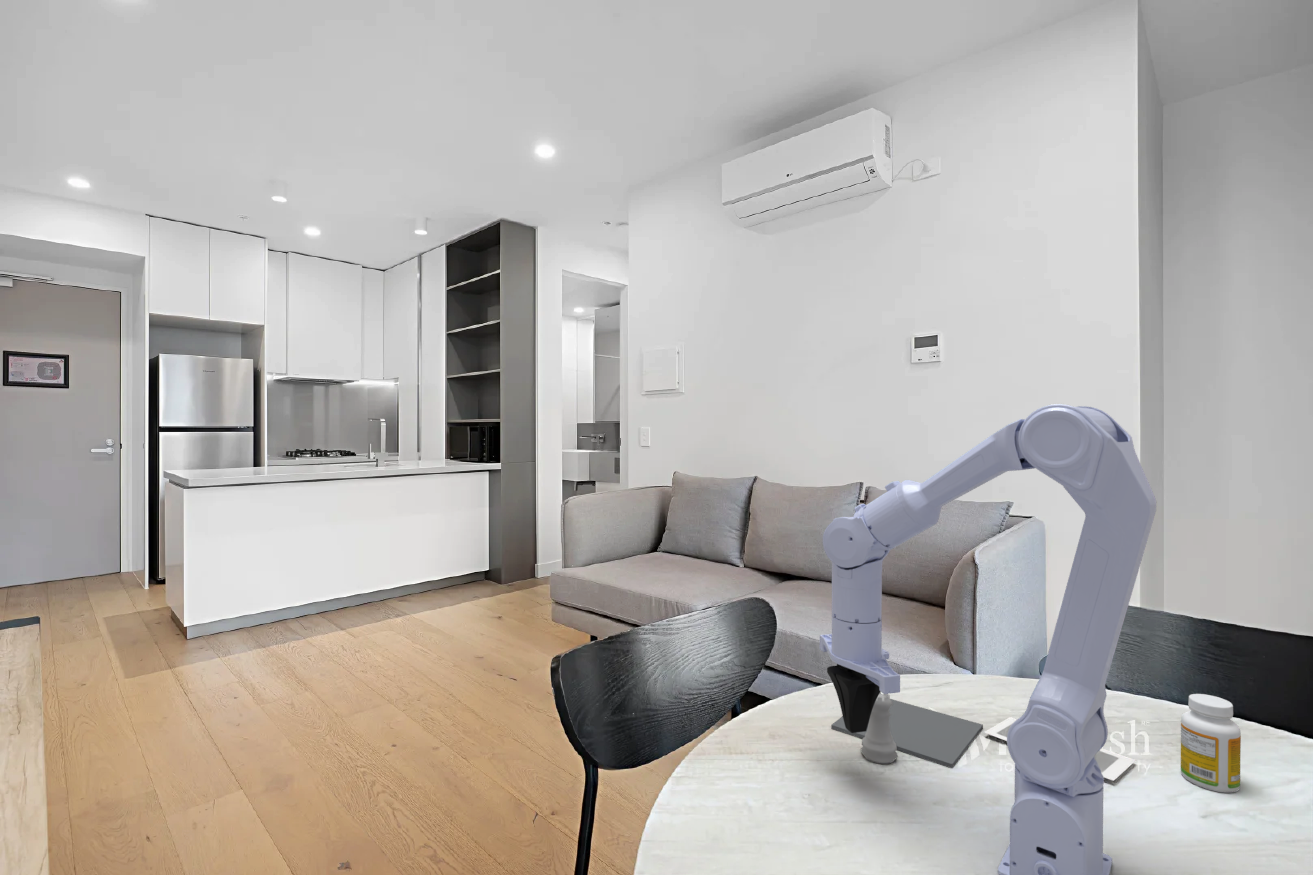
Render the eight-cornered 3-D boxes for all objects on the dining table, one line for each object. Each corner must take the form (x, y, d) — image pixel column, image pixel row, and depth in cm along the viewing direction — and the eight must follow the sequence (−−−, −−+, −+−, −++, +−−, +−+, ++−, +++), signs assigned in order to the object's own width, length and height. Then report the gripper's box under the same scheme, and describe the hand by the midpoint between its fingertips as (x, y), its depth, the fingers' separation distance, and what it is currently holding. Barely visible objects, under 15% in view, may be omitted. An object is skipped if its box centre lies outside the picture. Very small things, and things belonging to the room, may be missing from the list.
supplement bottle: (1223, 772, 78) (1224, 693, 78) (1251, 797, 73) (1252, 712, 73) (1171, 766, 79) (1172, 688, 79) (1194, 790, 74) (1195, 706, 74)
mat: (952, 768, 79) (952, 764, 79) (831, 728, 90) (831, 724, 90) (982, 728, 90) (983, 724, 90) (871, 696, 100) (871, 693, 100)
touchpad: (1113, 789, 75) (1113, 771, 75) (983, 740, 87) (984, 724, 87) (1135, 768, 80) (1136, 751, 80) (1010, 724, 92) (1010, 709, 92)
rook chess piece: (857, 759, 81) (858, 697, 81) (864, 744, 85) (864, 684, 85) (895, 768, 79) (895, 704, 79) (899, 752, 83) (900, 690, 83)
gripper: (924, 632, 70) (924, 755, 71) (854, 598, 84) (853, 701, 85) (867, 637, 69) (866, 763, 69) (805, 602, 83) (804, 706, 83)
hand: (856, 729), depth 77 cm, fingers closed
